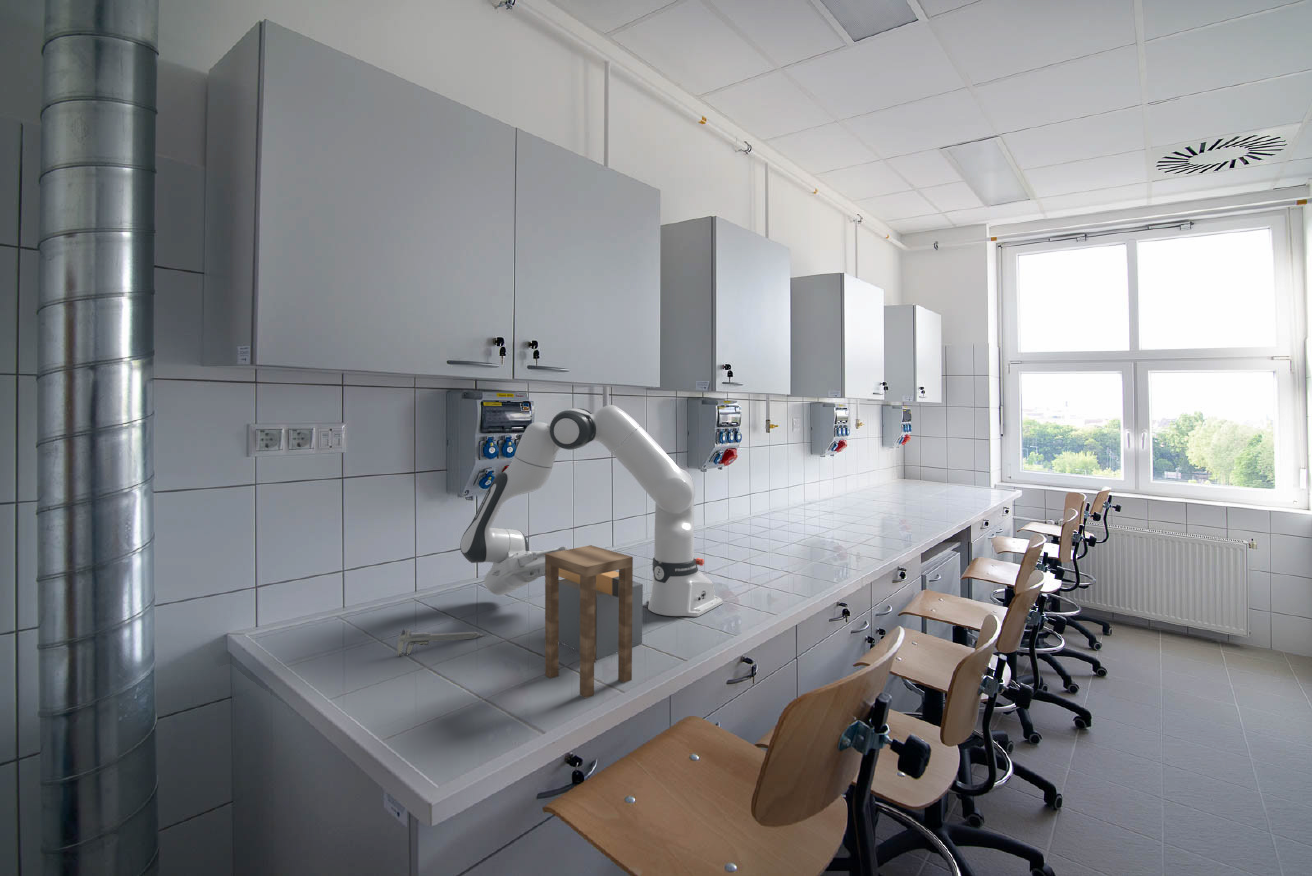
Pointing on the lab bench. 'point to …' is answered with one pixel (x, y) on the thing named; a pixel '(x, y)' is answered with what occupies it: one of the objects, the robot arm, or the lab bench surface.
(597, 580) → the capped wooden beam
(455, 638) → the caliper
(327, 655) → the lab bench surface
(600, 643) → the crate
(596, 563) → the wooden bar stool
